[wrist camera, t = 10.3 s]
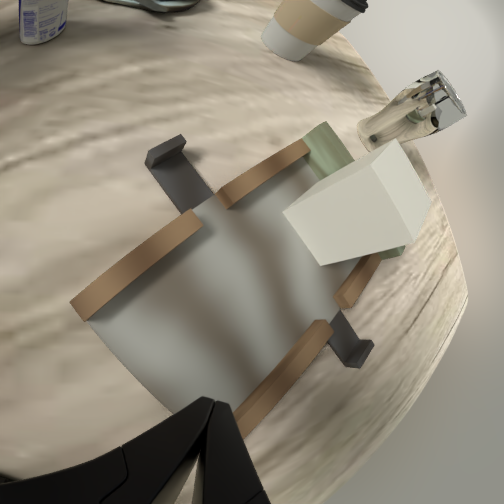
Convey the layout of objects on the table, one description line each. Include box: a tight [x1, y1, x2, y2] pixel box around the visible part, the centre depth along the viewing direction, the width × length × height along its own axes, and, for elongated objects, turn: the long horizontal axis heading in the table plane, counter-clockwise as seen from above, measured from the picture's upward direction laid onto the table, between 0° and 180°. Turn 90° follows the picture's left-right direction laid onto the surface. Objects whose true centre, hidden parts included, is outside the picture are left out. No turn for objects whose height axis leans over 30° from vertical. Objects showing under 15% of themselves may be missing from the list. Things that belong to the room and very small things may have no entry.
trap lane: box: [70, 121, 405, 439], centre depth 21 cm, size 26×26×5 cm
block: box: [283, 138, 432, 266], centre depth 22 cm, size 6×6×10 cm
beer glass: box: [357, 70, 467, 152], centre depth 29 cm, size 7×7×15 cm
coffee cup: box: [261, 0, 368, 61], centre depth 25 cm, size 9×9×15 cm
